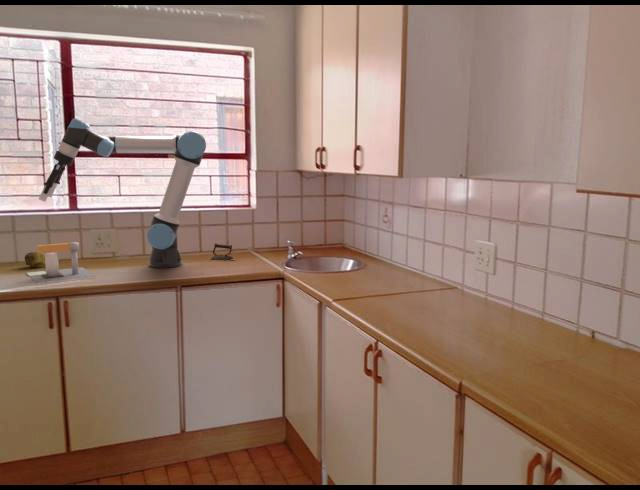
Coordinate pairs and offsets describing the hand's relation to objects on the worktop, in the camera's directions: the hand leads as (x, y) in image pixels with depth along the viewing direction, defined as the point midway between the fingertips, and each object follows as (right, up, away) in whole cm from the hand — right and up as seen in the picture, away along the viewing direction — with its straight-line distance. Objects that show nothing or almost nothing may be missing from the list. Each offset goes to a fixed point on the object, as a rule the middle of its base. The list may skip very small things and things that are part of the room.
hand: (45, 198), depth 239 cm
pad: (-3, -32, -1) cm, 33 cm away
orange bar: (+8, -23, -5) cm, 24 cm away
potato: (-9, -31, +14) cm, 35 cm away
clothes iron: (+69, -28, +42) cm, 85 cm away
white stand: (+7, -33, -1) cm, 34 cm away
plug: (+6, -32, -5) cm, 33 cm away
